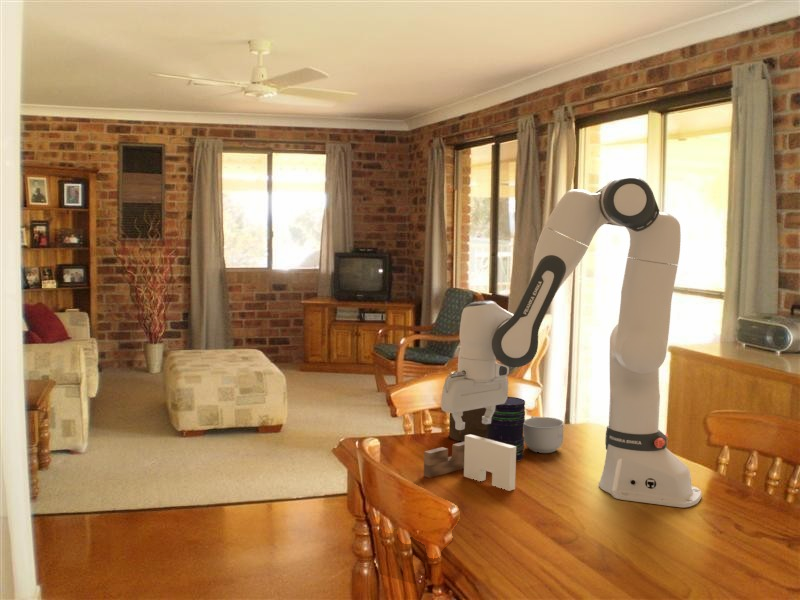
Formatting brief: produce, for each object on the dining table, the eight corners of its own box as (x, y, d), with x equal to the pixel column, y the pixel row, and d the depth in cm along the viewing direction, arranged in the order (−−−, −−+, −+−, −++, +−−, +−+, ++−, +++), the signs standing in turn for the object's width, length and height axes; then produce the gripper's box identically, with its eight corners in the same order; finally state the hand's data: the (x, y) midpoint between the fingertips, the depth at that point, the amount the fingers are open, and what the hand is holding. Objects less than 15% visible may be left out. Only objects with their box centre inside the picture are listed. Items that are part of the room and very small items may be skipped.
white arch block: (514, 489, 188) (516, 446, 187) (509, 491, 187) (510, 448, 186) (469, 474, 198) (470, 434, 197) (463, 476, 197) (464, 435, 196)
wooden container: (497, 431, 241) (499, 356, 239) (505, 444, 226) (507, 365, 224) (446, 430, 240) (448, 356, 238) (451, 444, 225) (453, 365, 223)
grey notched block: (468, 463, 207) (469, 440, 207) (474, 465, 206) (475, 441, 205) (423, 476, 196) (424, 451, 196) (429, 478, 195) (430, 453, 194)
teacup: (566, 456, 216) (567, 426, 215) (524, 455, 216) (525, 425, 215) (556, 442, 229) (557, 414, 229) (518, 441, 230) (519, 413, 229)
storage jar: (528, 454, 216) (530, 399, 215) (516, 464, 208) (518, 406, 206) (493, 449, 221) (495, 394, 219) (479, 458, 212) (481, 401, 211)
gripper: (456, 375, 184) (453, 436, 185) (513, 367, 198) (510, 423, 199) (436, 371, 188) (433, 430, 190) (493, 363, 202) (490, 418, 204)
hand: (473, 426), depth 195 cm, fingers open, 8 cm apart
